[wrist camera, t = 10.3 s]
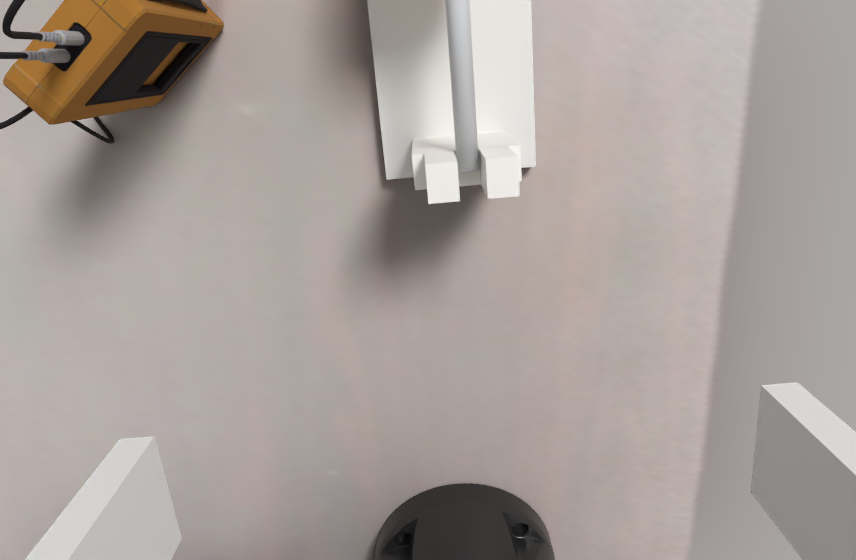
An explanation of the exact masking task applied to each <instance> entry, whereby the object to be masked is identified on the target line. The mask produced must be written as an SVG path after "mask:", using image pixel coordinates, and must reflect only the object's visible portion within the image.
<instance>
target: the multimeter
mask: <svg viewBox="0 0 856 560" xmlns="http://www.w3.org/2000/svg"><path fill="white" fill-rule="evenodd" d="M24 1H25V0H13V2H12V3H11V5H10V7H9V8H8V10H7V12H6V14H5V17H4V19H3V32H4V34H5V35H7V36H8V37H10V38H13V39H34V40H33V41H32V42H31V43H30V45H29V46H28V47H27V49H26V50H25V51H22V52H0V59H18V60H17V61H16V63H14V64H13V65H12V67H11V68H10V69H9V71H8V72H7V74H6V75H5V77H4V80H3V84H4V85H5V86H6V87H7V88H8V89H9V90H10V91H12V92H13V93H14V94H15V95H16V96H17V97H18V98H20V99H21V100H22V101H23V102H24V103H25V104H26V105H28V106H29V107H27V108H26V109H25V110H23V111H22V112H20V113H19V114H17V115H16V116H14V117H12V118H10V119H8V120H7V121H4V122H2V123H0V129H2V128H5V127H7V126H9V125H11V124H13V123H15V122H17V121H18V120H20V119H22V118H23V117H25V116H26V115H27V114H29V113H30V112H32V111H34V112H36V113H37V114H38V115H39V116H40V117H41V118H43V119H44V120H45V121H46V122H47V123H48V124H52V125H54V124H59V123H65V122H72V123H74V124H75V125H77V126H78V127H80V128H82V129H83V130H85V131H87V132H88V133H90V134H92V135H93V136H95V137H97V138H99V139H101V140H103V141H105V142H107V143H114V138H113V136H112V135H111V133H110V132H109V131H108V129H107V128H106V127H105V126H104V124H103V123H102V122H101V120H100V119H99V118H98V116H103V115H108V114H114V113H118V112H123V111H128V110H133V109H138V108H143V107H148V106H154V105H156V104H157V103H158V102H160V101H161V100H162V98H163V97H164V96H165V95H166V94H167V92H168V91H169V90H170V89H171V87H172V86H173V85H174V84H175V83H176V82H177V80H178V79H179V78H180V77H181V76H182V75H183V74H184V72H185V71H186V70H187V69H188V68H189V67H190V66H191V64H192V63H193V62H194V61H195V60H196V59H197V57H198V56H199V55H200V54H201V53H202V52H203V51H204V49H205V48H206V47H207V46H208V45H209V44H210V42H211V41H212V40H213V39H215V38H216V36H217V35H218V34H219V33H220V32H221V30H222V29H223V27H224V24H223V21H222V20H221V19H220V18H219V17H218V16H217V15H216V14H215V13H214V12H213V11H212V10H211V9H210V8H209V7H208V6H207V5H206V4H205V3H204V2H203V1H202V0H64V1H63V3H62V4H61V5H60V6H59V8H58V9H57V10H56V12H55V13H54V14H53V15H52V17H51V18H50V19H49V21H48V22H47V23H46V24H45V26H44V27H43V28H42V29H41V31H40V32H39V31H38V32H36V33H31V32H16V31H11V30H10V27H11V23H12V21H13V18H14V17H15V15H16V13H17V11H18V10H19V8H20V7H21V5H22V4H23V2H24ZM92 117H94V119H95V120H96V122H97V123H98V124H99V126H100V127H101V128H102V129H103V131H104V132H105V133H106V135H107V136H108V137H109V139H107V138H105V137H103V136H101V135H100V134H98V133H96V132H94V131H93V130H91V129H89V128H88V127H86V126H84V125H83V124H81V123H80V122H78V121H76V120H81V119H86V118H92Z"/></svg>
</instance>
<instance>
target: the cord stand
mask: <svg viewBox="0 0 856 560" xmlns="http://www.w3.org/2000/svg"><path fill="white" fill-rule="evenodd" d="M367 4H368V13H369V23H370V32H371V41H372V51H373V60H374V69H375V78H376V88H377V97H378V106H379V115H380V125H381V134H382V143H383V153H384V162H385V171H386V180H389V179H400V178H411V177H414V185H415V190H425V189H427V193H428V204H434V203H445V202H457V201H460V193H459V186H470V185H481V186H482V188H483V190H484V192H485V194H486V196H487V198H488V199H491V198H503V197H514V196H520V195H519V181H522V173H521V168H525V167H536V154H535V120H534V86H533V51H532V17H531V0H367Z"/></svg>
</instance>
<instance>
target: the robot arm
mask: <svg viewBox="0 0 856 560" xmlns="http://www.w3.org/2000/svg"><path fill="white" fill-rule="evenodd" d="M751 493H752V494H753V496H754V497H755V498H756V500H757V501H758V502H759V504H760V505H761V506H762V507H763V509H764V510H765V511H766V513H767V514H768V515H769V517H770V518H771V519H772V520H773V522H774V523H775V524H776V526H777V527H778V528H779V530H780V531H781V532H782V534H783V535H784V536H785V537H786V539H787V540H788V541H789V543H790V544H791V545H792V546H793V548H794V549H795V550H796V552H797V553H798V554H799V556H800V557H801V558H802V560H856V432H855V431H854V430H853V429H851V428H850V427H849V426H848V425H847V424H845V423H844V422H843V421H842V420H841V419H839V418H838V417H837V416H836V415H835V414H834V413H832V412H831V411H830V410H829V409H828V408H827V407H826V406H824V405H823V404H822V403H821V402H820V401H818V400H817V399H816V398H815V397H814V396H813V395H811V394H810V393H809V392H808V391H807V390H806V389H804V388H803V387H802V386H801V385H800V384H798V383H797V382H795V383H783V384H771V385H761V392H760V404H759V413H758V423H757V433H756V444H755V454H754V464H753V474H752V484H751ZM181 539H182V538H181V534H180V530H179V526H178V523H177V519H176V515H175V511H174V508H173V504H172V500H171V496H170V493H169V489H168V485H167V481H166V478H165V474H164V470H163V466H162V463H161V459H160V455H159V451H158V448H157V444H156V440H155V436H151V437H139V438H128V439H119V441H118V442H117V443H116V444H115V446H114V447H113V448H112V449H111V451H110V452H109V453H108V455H107V456H106V457H105V458H104V460H103V461H102V462H101V463H100V465H99V466H98V467H97V469H96V470H95V471H94V472H93V474H92V475H91V476H90V477H89V479H88V480H87V481H86V483H85V484H84V485H83V486H82V488H81V489H80V490H79V491H78V493H77V494H76V495H75V497H74V498H73V499H72V500H71V502H70V503H69V504H68V505H67V507H66V508H65V509H64V511H63V512H62V513H61V514H60V516H59V517H58V518H57V519H56V521H55V522H54V523H53V525H52V526H51V527H50V528H49V530H48V531H47V532H46V533H45V535H44V536H43V537H42V539H41V540H40V541H39V542H38V544H37V545H36V546H35V547H34V549H33V550H32V551H31V553H30V554H29V555H28V556H27V558H26V559H25V560H171V559H172V557H173V555H174V553H175V551H176V549H177V547H178V545H179V543H180V541H181ZM374 560H555V556H554V552H553V549H552V545H551V541H550V537H549V534H548V531H547V529H546V527H545V525H544V523H543V521H542V520H541V518H540V517H539V516H538V514H537V513H536V512H535V511H534V510H533V509H532V508H531V507H530V506H529V505H528V504H527V503H525V502H524V501H523V500H521V499H520V498H518V497H516V496H515V495H513V494H511V493H508V492H506V491H504V490H501V489H498V488H495V487H491V486H486V485H480V484H452V485H445V486H441V487H437V488H433V489H430V490H428V491H425V492H423V493H420V494H418V495H416V496H415V497H413V498H411V499H410V500H408V501H406V502H405V503H404V504H402V505H401V506H400V507H399V508H398V509H397V510H396V511H395V512H394V513H393V514H392V515H391V516H390V517H389V518H388V520H387V521H386V523H385V524H384V526H383V527H382V529H381V531H380V534H379V536H378V539H377V543H376V548H375V558H374Z"/></svg>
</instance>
